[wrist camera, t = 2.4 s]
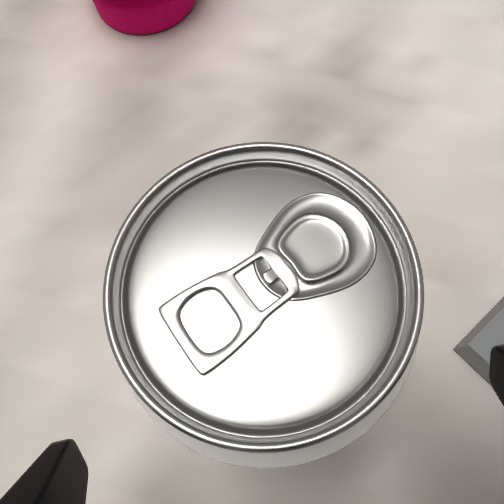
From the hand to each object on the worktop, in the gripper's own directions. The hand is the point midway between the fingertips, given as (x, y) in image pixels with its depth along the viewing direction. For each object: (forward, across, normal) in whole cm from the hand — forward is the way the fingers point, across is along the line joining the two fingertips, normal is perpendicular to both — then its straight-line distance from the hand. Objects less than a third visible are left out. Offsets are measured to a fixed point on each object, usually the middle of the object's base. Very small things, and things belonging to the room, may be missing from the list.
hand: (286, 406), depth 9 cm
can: (+8, 0, +5) cm, 10 cm away
